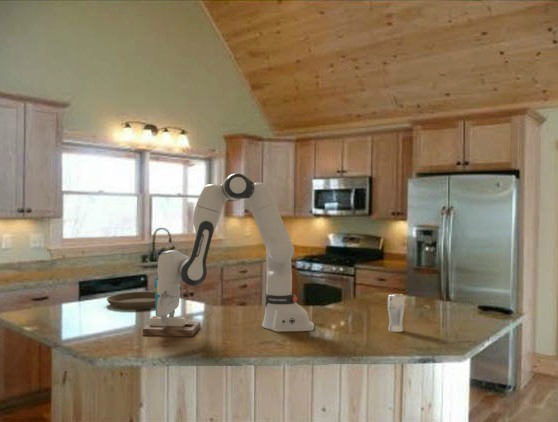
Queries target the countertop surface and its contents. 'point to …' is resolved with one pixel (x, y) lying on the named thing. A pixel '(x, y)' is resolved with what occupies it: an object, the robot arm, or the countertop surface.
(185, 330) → the keyhole board
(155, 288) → the tube
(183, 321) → the power strip
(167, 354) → the countertop surface
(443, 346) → the countertop surface
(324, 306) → the countertop surface
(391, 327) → the beer glass
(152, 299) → the plant saucer
